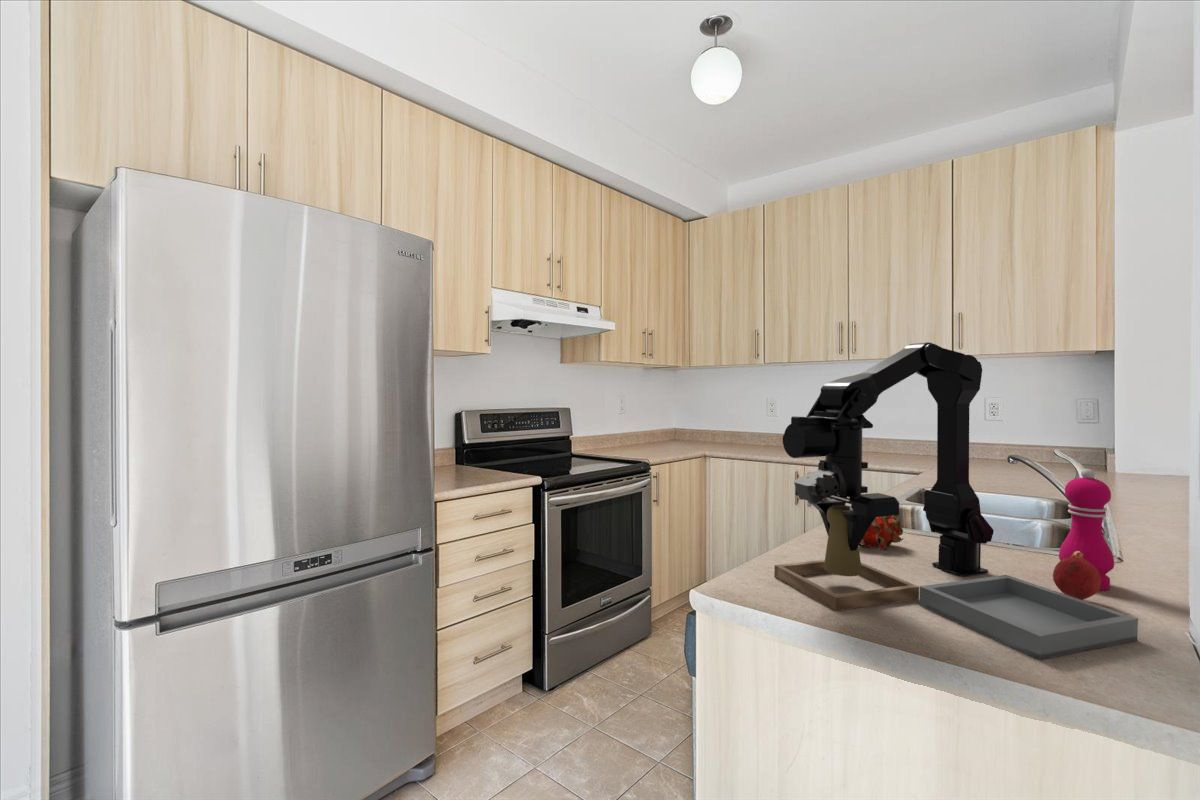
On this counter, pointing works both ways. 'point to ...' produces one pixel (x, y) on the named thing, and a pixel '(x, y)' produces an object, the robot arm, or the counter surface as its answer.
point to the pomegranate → (1077, 577)
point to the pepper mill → (1088, 524)
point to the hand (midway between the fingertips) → (842, 546)
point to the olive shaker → (840, 545)
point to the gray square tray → (1029, 616)
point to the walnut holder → (893, 593)
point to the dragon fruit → (883, 532)
